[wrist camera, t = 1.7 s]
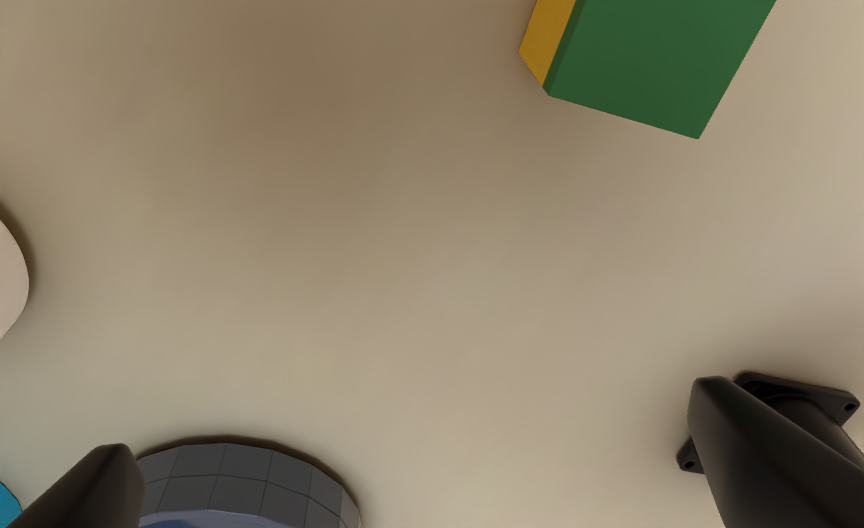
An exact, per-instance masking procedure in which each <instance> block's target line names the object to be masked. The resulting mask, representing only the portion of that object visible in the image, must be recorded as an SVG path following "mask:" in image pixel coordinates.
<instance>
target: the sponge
mask: <svg viewBox="0 0 864 528" xmlns="http://www.w3.org/2000/svg"><path fill="white" fill-rule="evenodd" d="M775 2H776V0H537V2H536V5H535V8H534V10H533V13H532V16H531V19H530V21H529V24H528V27H527V30H526V33H525V35H524V38H523V41H522V44H521V46H520V49H519V52H518V53H519V55H520V56H521V58H522V59H523V60H524V62H525V63H526V65H527V66H528V67H529V69H530V70H531V72H532V73H533V74H534V76H535V77H536V79H537V80H538V81H539V83H540V84H541V86H542V87H543V88H544V90H545V91H546V92H547V94H548V95H549V96H552V97H555V98H559V99H562V100H566V101H569V102H572V103H576V104H579V105H583V106H586V107H589V108H593V109H596V110H600V111H603V112H606V113H610V114H613V115H617V116H620V117H623V118H627V119H630V120H634V121H637V122H640V123H644V124H647V125H651V126H654V127H657V128H661V129H664V130H667V131H671V132H674V133H678V134H681V135H684V136H688V137H691V138H695V139H699V138H700V136H701V134H702V132H703V130H704V129H705V127H706V125H707V123H708V122H709V120H710V118H711V116H712V114H713V113H714V111H715V109H716V107H717V105H718V104H719V102H720V100H721V98H722V96H723V95H724V93H725V91H726V89H727V88H728V86H729V84H730V82H731V80H732V79H733V77H734V75H735V73H736V71H737V70H738V68H739V66H740V64H741V62H742V61H743V59H744V57H745V55H746V54H747V52H748V50H749V48H750V46H751V45H752V43H753V41H754V39H755V37H756V36H757V34H758V32H759V30H760V28H761V27H762V25H763V23H764V21H765V20H766V18H767V16H768V14H769V12H770V11H771V9H772V7H773V5H774V3H775Z"/></svg>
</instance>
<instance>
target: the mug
mask: <svg viewBox="0 0 864 528" xmlns="http://www.w3.org/2000/svg"><path fill="white" fill-rule="evenodd" d="M21 513H22V511H21V508H20V506H19V503H18V501H17V500H16V499H15V498H14V497H13V495H12V494H11V493H10V492H9V491H8V490H7V489H6V488H5V487H4V485H2V484H1V483H0V528H5V527H6V526H8V525H9V524H10V523H11V522H12V521H13V520H14V519H15V518H17V517H18V516H19V515H20V514H21Z"/></svg>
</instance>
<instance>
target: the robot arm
mask: <svg viewBox="0 0 864 528" xmlns="http://www.w3.org/2000/svg"><path fill="white" fill-rule="evenodd" d="M859 407H860V402H859V401H858V399H857V398H856V397H855V396H854V395H852V394H850V393H845V392H840V391H835V390H831V389H826V388H821V387H816V386H812V385H807V384H802V383H797V382H792V381H788V380H783V379H778V378H773V377H769V376H764V375H759V374H754V373H746V374H743V375H741V376H740V377H739V378H738V379H737V380H736V381H735V382H734V383H733V382H732V381H730V380H729V379H727V378H725V377H723V376H711V377H702V378H697V379H696V380H695V381H694V382H693V386H692V391H691V396H690V402H689V407H688V413H687V421H688V427H689V430H690V433H691V436H692V439H691V440H690V441H689V443H688V444H687V445H686V446H685V448H684V449H683V450H682V452H681V453H680V454H679V456H678V457H677V463H678V465H679V467H680V469H681V470H683V471H688V472H694V473H700V474H705V475H706V477H707V480H708V483H709V486H710V489H711V491H712V494H713V497H714V500H715V502H716V505H717V508H718V510H719V513H720V516H721V518H722V521H723V523H724V525H725V527H726V528H864V454H863V453H862V452H861V450H860V449H859V448H858V447H857V445H856V444H855V443H854V442H853V441H852V439H851V438H850V437H849V436H848V434H847V433H846V432H845V431H844V430H843V428H842V427H841V426H842V425H843V424H844V423H845V422H846V421H847V420H848V419H849V418H850V417H851V416H852V415H853V414H854V413H855V412H856V410H857V409H858V408H859ZM145 492H146V479H145V476H144V473H143V472H142V470H141V468H140V466H139V465H138V463H137V461H136V459H135V458H134V456H133V454H132V452H131V451H130V449H129V447H128V446H126V445H125V444H122V443H118V444H109V445H101V446H98V447H96V448H94V449H93V450H92V451H91V452H89V453H88V454H87V455H86V456H85V457H84V458H83V459H82V460H80V461H79V462H78V463H77V464H76V465H75V466H74V467H73V468H71V469H70V470H69V471H68V472H67V473H66V474H65V475H64V476H63V477H61V478H60V479H59V480H58V481H57V482H56V483H55V484H54V485H52V486H51V487H50V488H49V489H48V490H47V491H46V492H45V493H43V494H42V495H41V496H40V497H39V498H38V499H37V500H36V501H34V502H33V503H32V504H31V505H30V506H29V507H28V508H27V509H26V510H24V511H23V512H22V513H21V514H20V515H19V516H18V517H17V518H15V519H14V520H13V521H12V522H11V523H10V524H9V525H8V526H6V527H5V528H138V526H139V521H140V517H141V512H142V507H143V502H144V497H145Z"/></svg>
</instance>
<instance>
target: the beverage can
mask: <svg viewBox="0 0 864 528" xmlns="http://www.w3.org/2000/svg"><path fill="white" fill-rule="evenodd" d="M28 292H29V278H28V271H27V267H26V263H25V260H24V257H23V255H22V253H21V250H20V248H19V246H18V245H17V243H16V241H15V239H14V238H13V236H12V235H11V233H10V232H9V230H8V229H7V228H6V226H5V225H4V224H3V223H2V222H1V220H0V339H1V338H2V337H3V335H4V334H5V333H6V332H7V331H8V330H9V328H10V327H11V326H12V325H13V324H14V323H15V321H16V320H17V319H18V318H19V316H20V315H21V313H22V311H23V309H24V307H25V305H26V302H27V298H28Z"/></svg>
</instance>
